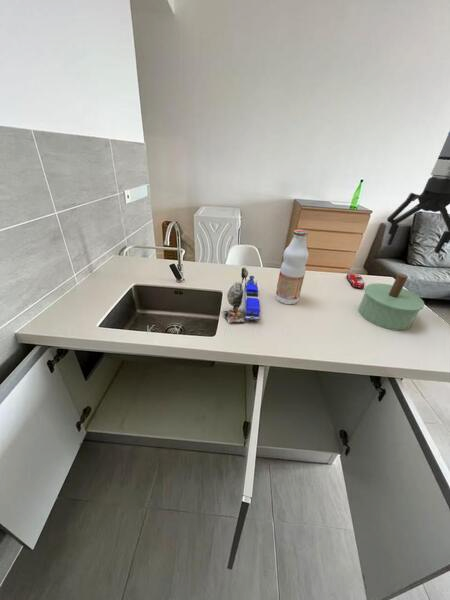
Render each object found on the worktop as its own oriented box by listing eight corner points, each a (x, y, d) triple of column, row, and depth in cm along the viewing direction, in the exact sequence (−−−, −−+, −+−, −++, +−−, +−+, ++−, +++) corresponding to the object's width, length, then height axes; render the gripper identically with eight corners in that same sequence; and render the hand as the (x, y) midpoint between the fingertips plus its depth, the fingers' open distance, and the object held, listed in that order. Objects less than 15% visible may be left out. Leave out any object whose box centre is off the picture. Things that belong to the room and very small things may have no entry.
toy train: (255, 288, 106) (257, 272, 102) (258, 323, 85) (261, 304, 81) (243, 288, 106) (245, 271, 102) (244, 322, 85) (246, 303, 81)
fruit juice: (282, 306, 95) (296, 235, 80) (271, 294, 103) (282, 227, 88) (302, 303, 98) (320, 234, 83) (290, 292, 105) (304, 227, 91)
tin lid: (417, 293, 93) (429, 271, 88) (427, 318, 78) (442, 294, 73) (363, 281, 99) (372, 260, 95) (363, 302, 85) (373, 279, 80)
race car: (344, 276, 122) (347, 269, 120) (356, 277, 121) (358, 270, 119) (351, 288, 111) (354, 280, 109) (364, 290, 110) (367, 282, 108)
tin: (407, 311, 97) (416, 292, 92) (414, 336, 83) (426, 315, 78) (358, 299, 103) (365, 281, 98) (358, 320, 89) (366, 301, 85)
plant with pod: (244, 307, 93) (249, 258, 83) (245, 325, 83) (252, 272, 73) (223, 306, 93) (225, 257, 82) (222, 324, 83) (225, 271, 73)
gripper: (397, 174, 72) (371, 243, 83) (507, 183, 63) (461, 259, 74) (395, 173, 78) (370, 238, 89) (495, 181, 69) (454, 252, 80)
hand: (411, 248), depth 82 cm, fingers open, 13 cm apart
